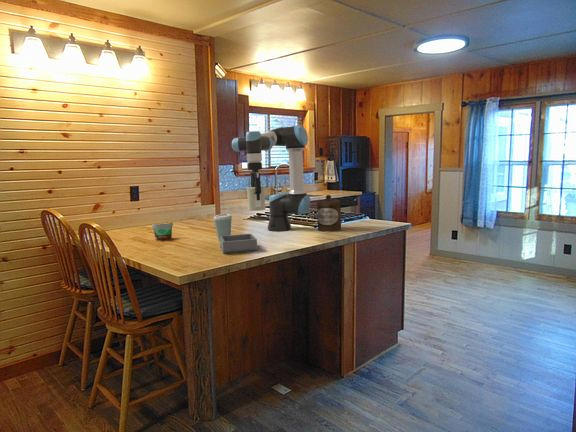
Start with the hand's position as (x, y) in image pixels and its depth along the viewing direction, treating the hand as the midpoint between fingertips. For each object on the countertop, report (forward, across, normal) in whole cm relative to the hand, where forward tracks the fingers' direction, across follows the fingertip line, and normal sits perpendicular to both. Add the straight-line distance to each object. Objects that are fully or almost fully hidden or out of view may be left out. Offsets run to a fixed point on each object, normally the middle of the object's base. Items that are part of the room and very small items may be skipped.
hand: (256, 205), depth 214 cm
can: (+2, 0, 0) cm, 2 cm away
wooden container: (+22, -31, +52) cm, 64 cm away
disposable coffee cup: (+22, -25, -15) cm, 37 cm away
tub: (+22, +1, -11) cm, 24 cm away
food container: (+22, -44, -49) cm, 69 cm away
